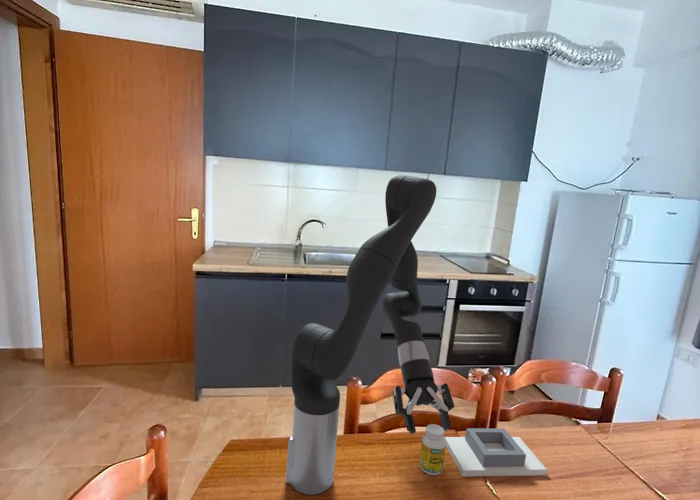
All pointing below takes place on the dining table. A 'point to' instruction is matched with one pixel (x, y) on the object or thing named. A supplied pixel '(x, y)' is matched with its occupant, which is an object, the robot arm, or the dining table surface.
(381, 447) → the dining table surface
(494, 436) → the collar board
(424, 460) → the supplement bottle
